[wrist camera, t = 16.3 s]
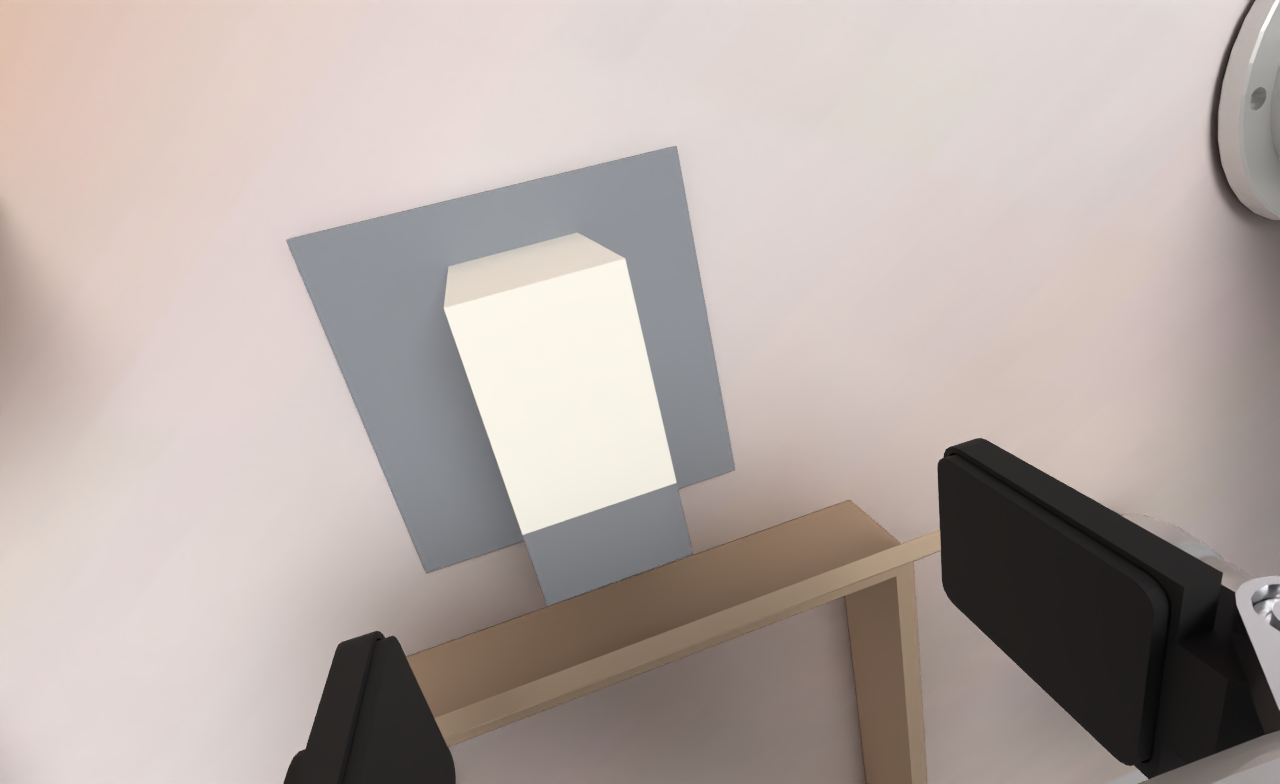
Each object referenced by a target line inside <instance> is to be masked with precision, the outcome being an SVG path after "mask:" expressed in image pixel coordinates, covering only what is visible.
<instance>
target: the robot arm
mask: <svg viewBox="0 0 1280 784" xmlns="http://www.w3.org/2000/svg"><path fill="white" fill-rule="evenodd" d="M1218 144H1219V151H1220V157H1221V164H1222V167H1223V169H1224V172H1225V175H1226V177H1227V180H1228V183H1229V185H1230V187H1231V188H1232V190H1233V191H1234V193H1235V194H1236V196H1237V197H1238V199H1239V200H1240V202H1241V203H1243V204H1244V205H1245V206H1246V207H1247V208H1249V209H1250V210H1251V211H1252V212H1253V213H1255V214H1258V215H1260V216H1263V217H1265V218H1268V219H1271V220H1280V0H1255V2H1254V3H1253V5H1252V7H1251V9H1250V11H1249V12H1248V14H1247V16H1246V18H1245V20H1244V22H1243V24H1242V27H1241V29H1240V31H1239V34H1238V36H1237V39H1236V41H1235V43H1234V46H1233V48H1232V51H1231V54H1230V58H1229V61H1228V65H1227V68H1226V72H1225V75H1224V79H1223V83H1222V89H1221V96H1220V102H1219V109H1218ZM938 490H939V515H940V540H941V564H942V583H943V587H944V590H945V592H946V594H947V596H948V598H949V599H950V601H951V602H952V603H953V604H954V605H955V606H956V607H957V608H958V609H959V610H960V611H961V612H962V613H964V614H965V615H966V616H967V617H968V618H969V619H970V620H971V621H972V622H973V623H974V624H975V625H976V626H977V627H978V628H979V629H980V630H981V631H982V632H983V633H985V634H986V635H987V636H988V637H989V638H990V639H991V640H992V641H993V642H994V643H995V644H996V645H997V646H998V647H999V648H1000V649H1001V650H1002V651H1003V652H1005V653H1006V654H1007V655H1008V656H1009V657H1010V658H1011V659H1012V660H1013V661H1014V662H1015V663H1016V664H1017V665H1018V666H1019V667H1020V668H1021V669H1022V670H1023V671H1024V672H1026V673H1027V674H1028V675H1029V676H1030V677H1031V678H1032V679H1033V680H1034V681H1035V682H1036V683H1037V684H1038V685H1039V686H1040V687H1041V688H1042V689H1043V690H1044V691H1045V692H1047V693H1048V694H1049V695H1050V696H1051V697H1052V698H1053V699H1054V700H1055V701H1056V702H1057V703H1058V704H1059V705H1060V706H1061V707H1062V708H1063V709H1064V710H1065V711H1067V712H1068V713H1069V714H1070V715H1071V716H1072V717H1073V718H1074V719H1075V720H1076V721H1077V722H1078V723H1079V724H1080V725H1081V726H1082V727H1083V728H1084V729H1085V730H1086V731H1088V732H1089V733H1090V734H1091V735H1092V736H1093V737H1094V738H1095V739H1096V740H1097V741H1098V742H1099V743H1100V744H1101V745H1102V746H1103V747H1104V748H1105V749H1106V750H1107V751H1109V752H1110V753H1111V754H1112V755H1113V756H1114V757H1115V758H1116V759H1117V760H1119V761H1120V762H1122V763H1124V764H1125V765H1129V766H1132V765H1134V766H1135V767H1137V768H1138V769H1139V770H1140V771H1141V772H1142V773H1143V774H1144V775H1145V776H1146V777H1147V778H1148V779H1149V780H1146V781H1144V782H1142V783H1139V784H1280V576H1266V577H1260V578H1254V579H1251V580H1249V581H1247V582H1245V583H1243V584H1241V586H1240V587H1239V589H1238V590H1237V592H1234V591H1232V590H1231V589H1229V588H1227V587H1225V586H1224V585H1222V584H1221V583H1222V577H1223V572H1221V571H1219V570H1217V569H1215V568H1214V567H1212V566H1210V565H1208V564H1206V563H1205V562H1203V561H1201V560H1199V559H1198V558H1196V557H1194V556H1192V555H1190V554H1189V553H1187V552H1185V551H1183V550H1182V549H1180V548H1178V547H1176V546H1174V545H1173V544H1171V543H1169V542H1167V541H1165V540H1164V539H1162V538H1160V537H1158V536H1157V535H1155V534H1153V533H1151V532H1149V531H1148V530H1146V529H1144V528H1142V527H1141V526H1139V525H1137V524H1135V523H1133V522H1132V521H1130V520H1128V519H1126V518H1124V517H1123V516H1121V515H1119V514H1117V513H1116V512H1114V511H1112V510H1110V509H1108V508H1107V507H1105V506H1103V505H1101V504H1100V503H1098V502H1096V501H1094V500H1092V499H1091V498H1089V497H1087V496H1085V495H1083V494H1082V493H1080V492H1078V491H1076V490H1075V489H1073V488H1071V487H1069V486H1067V485H1066V484H1064V483H1062V482H1060V481H1059V480H1057V479H1055V478H1053V477H1051V476H1050V475H1048V474H1046V473H1044V472H1042V471H1041V470H1039V469H1037V468H1035V467H1034V466H1032V465H1030V464H1028V463H1026V462H1025V461H1023V460H1021V459H1019V458H1018V457H1016V456H1014V455H1012V454H1010V453H1009V452H1007V451H1005V450H1003V449H1001V448H1000V447H998V446H996V445H994V444H993V443H991V442H989V441H987V440H985V439H982V438H977V439H974V440H970V441H967V442H964V443H961V444H958V445H955V446H952V447H949V448H948V449H946V451H945V453H944V458H942V459H941V460H939V462H938ZM455 782H456V781H455V768H454V762H453V759H452V756H451V753H450V751H449V749H448V746H447V744H446V742H445V740H444V738H443V736H442V734H441V731H440V729H439V727H438V725H437V723H436V721H435V718H434V716H433V714H432V712H431V710H430V708H429V706H428V703H427V701H426V699H425V697H424V695H423V693H422V690H421V688H420V686H419V684H418V682H417V680H416V678H415V675H414V673H413V671H412V669H411V667H410V665H409V663H408V660H407V658H406V656H405V654H404V652H403V650H402V647H401V645H400V643H399V641H398V640H397V638H396V637H395V636H391V637H388V638H385V637H384V635H383V634H382V633H381V632H380V631H375V632H372V633H369V634H366V635H363V636H360V637H356V638H353V639H350V640H347V641H344V642H341V643H340V644H339V645H338V647H337V649H336V652H335V655H334V658H333V661H332V665H331V668H330V671H329V674H328V678H327V681H326V684H325V687H324V691H323V694H322V697H321V700H320V704H319V707H318V710H317V714H316V717H315V720H314V723H313V727H312V730H311V733H310V736H309V740H308V743H307V746H306V749H305V750H302V751H299V752H298V753H297V754H296V755H295V757H294V758H293V760H292V762H291V764H290V766H289V768H288V771H287V774H286V777H285V780H284V784H455Z"/></svg>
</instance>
